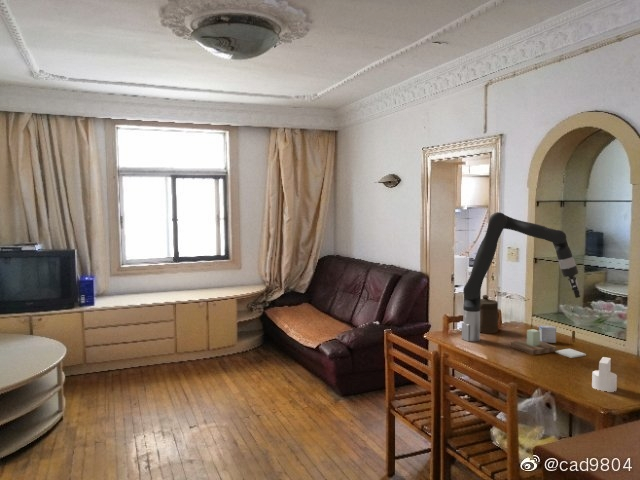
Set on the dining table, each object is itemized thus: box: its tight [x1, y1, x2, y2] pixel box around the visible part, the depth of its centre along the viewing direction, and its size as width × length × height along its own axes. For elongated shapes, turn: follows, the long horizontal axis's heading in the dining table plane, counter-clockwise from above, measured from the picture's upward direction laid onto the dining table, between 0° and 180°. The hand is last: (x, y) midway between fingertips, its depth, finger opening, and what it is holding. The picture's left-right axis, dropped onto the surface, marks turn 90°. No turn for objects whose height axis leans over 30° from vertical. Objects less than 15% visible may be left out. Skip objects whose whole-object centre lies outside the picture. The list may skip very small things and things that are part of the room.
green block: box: [526, 328, 540, 346], centre depth 256 cm, size 4×4×10 cm
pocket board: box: [509, 339, 558, 356], centre depth 257 cm, size 16×16×2 cm
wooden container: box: [480, 294, 499, 334], centre depth 294 cm, size 15×15×22 cm
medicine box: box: [538, 325, 557, 344], centre depth 269 cm, size 8×4×9 cm, turn 84°
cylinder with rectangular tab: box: [591, 356, 618, 393], centre depth 202 cm, size 9×9×12 cm
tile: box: [554, 348, 587, 359], centre depth 247 cm, size 10×10×1 cm
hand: (577, 295), depth 253 cm, fingers open, 8 cm apart
